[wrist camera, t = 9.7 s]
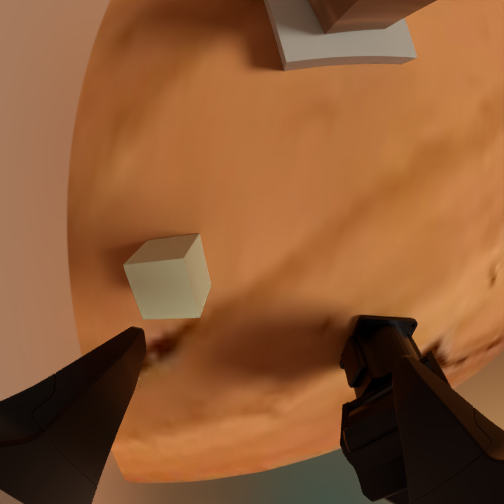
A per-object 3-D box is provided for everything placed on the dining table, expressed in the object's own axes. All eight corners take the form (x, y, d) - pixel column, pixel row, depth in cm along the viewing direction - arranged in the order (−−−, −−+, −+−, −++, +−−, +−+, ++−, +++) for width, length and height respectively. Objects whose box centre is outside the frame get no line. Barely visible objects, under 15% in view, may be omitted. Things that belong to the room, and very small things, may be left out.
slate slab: (398, 65, 15) (417, 57, 12) (283, 72, 16) (286, 62, 14) (365, -26, 12) (377, -42, 9) (255, -23, 13) (253, -42, 10)
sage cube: (199, 233, 21) (183, 258, 17) (211, 284, 23) (199, 317, 19) (147, 240, 22) (122, 264, 17) (162, 288, 23) (143, 319, 19)
